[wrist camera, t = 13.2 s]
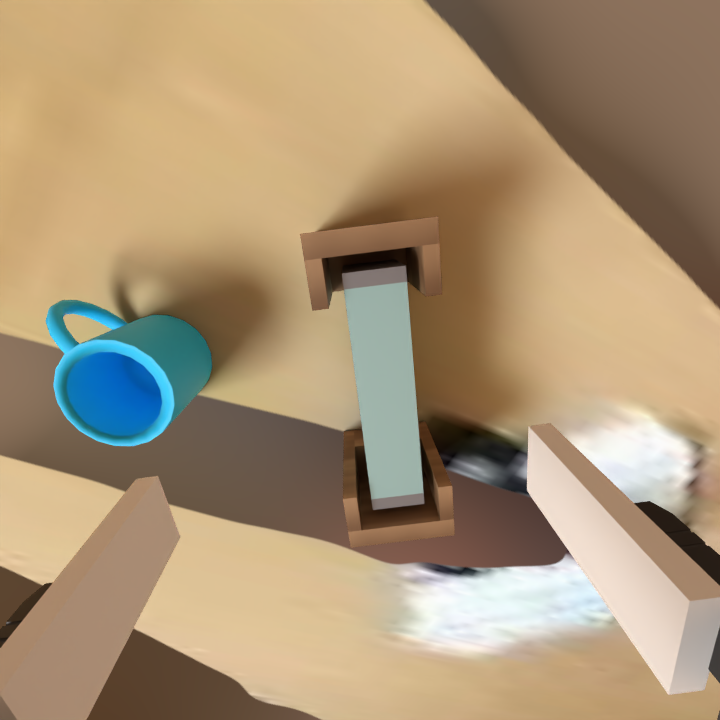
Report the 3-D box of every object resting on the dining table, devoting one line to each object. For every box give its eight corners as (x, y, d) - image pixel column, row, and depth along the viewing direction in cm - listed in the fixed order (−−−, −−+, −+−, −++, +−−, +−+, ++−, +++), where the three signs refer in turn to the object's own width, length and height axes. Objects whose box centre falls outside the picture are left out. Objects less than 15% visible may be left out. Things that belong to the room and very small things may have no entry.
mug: (231, 360, 35) (198, 397, 27) (173, 416, 37) (127, 466, 29) (120, 260, 32) (48, 270, 24) (63, 326, 33) (-23, 355, 26)
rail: (342, 265, 30) (341, 273, 24) (394, 259, 30) (405, 265, 24) (368, 465, 35) (372, 509, 30) (411, 459, 35) (424, 503, 30)
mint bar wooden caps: (314, 233, 32) (300, 233, 22) (410, 221, 32) (438, 216, 22) (349, 470, 39) (350, 547, 29) (428, 461, 39) (454, 535, 29)
